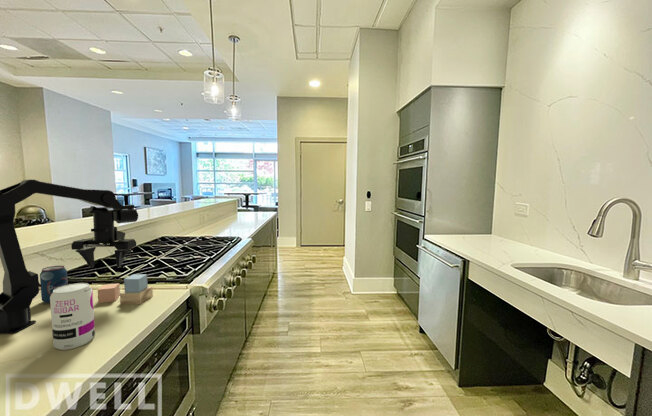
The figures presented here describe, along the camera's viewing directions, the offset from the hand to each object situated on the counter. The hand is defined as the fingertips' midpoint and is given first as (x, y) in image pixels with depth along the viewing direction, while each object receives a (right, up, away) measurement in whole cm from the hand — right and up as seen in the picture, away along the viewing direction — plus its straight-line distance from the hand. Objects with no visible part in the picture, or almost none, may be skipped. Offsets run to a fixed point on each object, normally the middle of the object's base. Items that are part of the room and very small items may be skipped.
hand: (105, 267), depth 100 cm
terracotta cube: (+1, -12, +1) cm, 12 cm away
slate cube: (+11, -8, 0) cm, 14 cm away
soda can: (-18, -12, -1) cm, 21 cm away
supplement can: (+13, -14, -27) cm, 33 cm away
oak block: (+11, -12, +1) cm, 16 cm away
